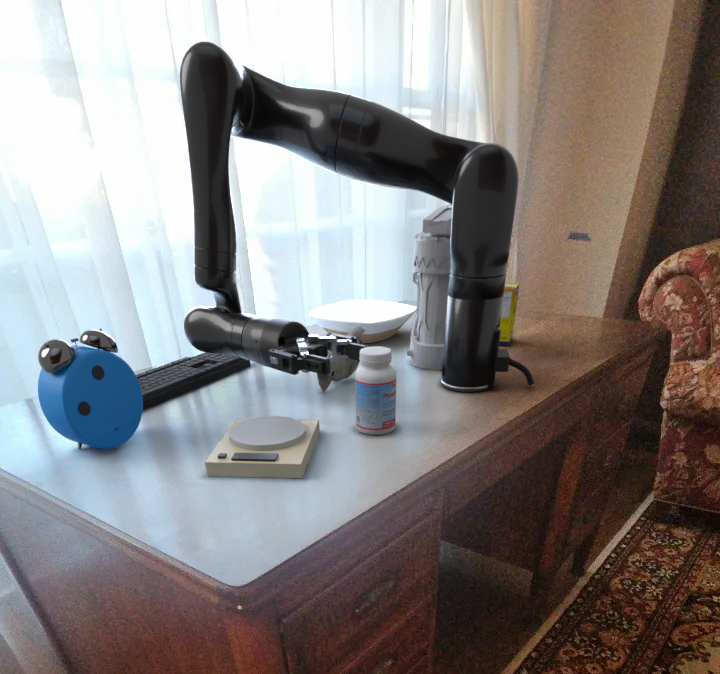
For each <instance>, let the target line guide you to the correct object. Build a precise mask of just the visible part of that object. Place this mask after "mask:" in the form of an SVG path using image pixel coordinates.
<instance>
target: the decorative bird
mask: <svg viewBox="0 0 720 674" xmlns="http://www.w3.org/2000/svg"><path fill="white" fill-rule="evenodd" d="M364 331H365V330H364V329H362V327H360V326H359V327H357V328H354V329H353V330H352V331H350V332H349V334H348V335H347V336H354V337H356V344H361V345H363V343H362V340H361V336H362V335H363V333H364ZM328 356H332V352H331V351H328ZM360 363H361V362H360V361H357V360H353V359H347V358H338V359H337V361H335V362H330V369H331V372H330V374H328V375H322V374H319V373H316V376H317V381H318V385H319V387H320V390H321V391H322V393H325V392H326V391H327V389H328V388H329V386H330V385H331V383H332V382H340V381H344V380H346V379H348V378H350V377H351V376H352V375H353V374H354V373H355V372H356V370H357V369H358V366H359V364H360Z"/></svg>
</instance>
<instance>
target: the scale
mask: <svg viewBox="0 0 720 674" xmlns="http://www.w3.org/2000/svg"><path fill="white" fill-rule="evenodd" d="M320 433H321V429H320V420H319V419H295V418H292V417H287V416H280V415H279V416H278V415H269V416H268V415H267V416H258V417H253V418H235V419H234V420H233V422H232V423H231V425H230V426H229V427H228V429H226V432H225V433H224V434H223V435H222V437H221V439H219V441H218V443H217V444H216V446H214V448H213V449H212V451H211V452H210V454H209V456H208V457H207V458H206V459H205V461H204V465H205V471H206V475H207V477H225V478H226V477H231V478H272V479H303V477H304V474H305V472H306V470H307V467H308V465H309V461H310V459H311V456H312V454H313V452H314V449H315V446H316V444H317V441H318V438H319V435H320Z"/></svg>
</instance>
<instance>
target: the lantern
mask: <svg viewBox="0 0 720 674" xmlns="http://www.w3.org/2000/svg"><path fill="white" fill-rule="evenodd" d="M452 206H453V205H452V204H450V203H448V204H446V205H442V206H439V207H438V208H436V209H434V211H432V212H431V213H430V214H428V215H427V216H426V217H425V218H423V219H422V232H418V233H416V234H415V236H414V240H413V263H412V264H413V266H412V283H413V285H416V286H417V291H416V292H417V293H416V307H417V311H416V312H415V315H414V317H413V320H412V323H411V327H410V345H409V346H408V348H407V349H406V355H407V357H410V359H411V364H412V365H413V366H414V367H416V368H420V369H423V370H432V371H433V370H440V371H441V368H442V366H443V352H444V338H445V324H446V310H447V296H448V282H449V267H450V238H451V222H452Z"/></svg>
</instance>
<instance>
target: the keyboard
mask: <svg viewBox="0 0 720 674" xmlns="http://www.w3.org/2000/svg"><path fill="white" fill-rule="evenodd" d="M249 367H251V361H250V360H246V359H243V358H240V357H237V356H233V355H224V354H214V353H207V352H203V353H200V354H197V355H194V356H191V357H190V356H186V357H182V358H180V359H177V360H174V361H171V362H170V363H169V362H168V363H165V364H163V365H160V366H157V367H153V368H152V369H149V370H146V371H144V372H139V373H138V374H135V375H136V377H137V379H138V381H139V384H140V387H141V391H142V397H143V411H144V410H146V409H149V408H150V407H153V406H155V405H156V406H157V405H158V404H160V403H163V402H166V401H167V400H171V399H173V398H175V397H177V396H181V395H182V394H185V393H188V392H189V391H192V390H195V389H197V388H199V387H200V388H201V387H202V386H204V385H206V384H209V383H212V382H214V381H217V380H219V379H221V378H224V377H226V376H229V375H231V374H234V373H236V372H238V371H241V370H243V369H246V368H249Z"/></svg>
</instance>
